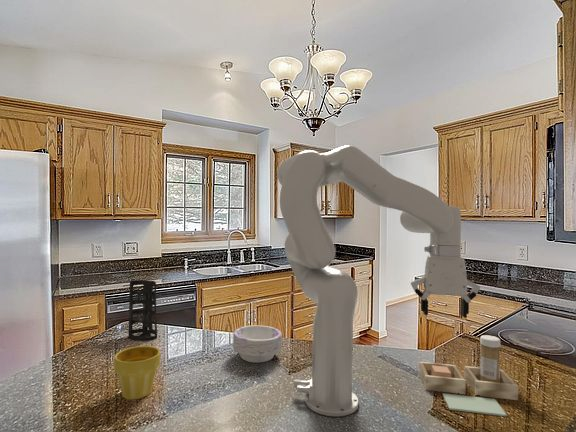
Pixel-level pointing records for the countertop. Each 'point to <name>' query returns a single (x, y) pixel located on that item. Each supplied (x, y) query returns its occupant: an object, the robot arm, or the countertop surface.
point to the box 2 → (491, 384)
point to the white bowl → (257, 342)
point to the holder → (143, 310)
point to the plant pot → (136, 370)
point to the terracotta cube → (440, 371)
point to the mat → (473, 404)
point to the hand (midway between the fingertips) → (444, 315)
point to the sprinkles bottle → (490, 358)
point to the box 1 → (442, 379)
